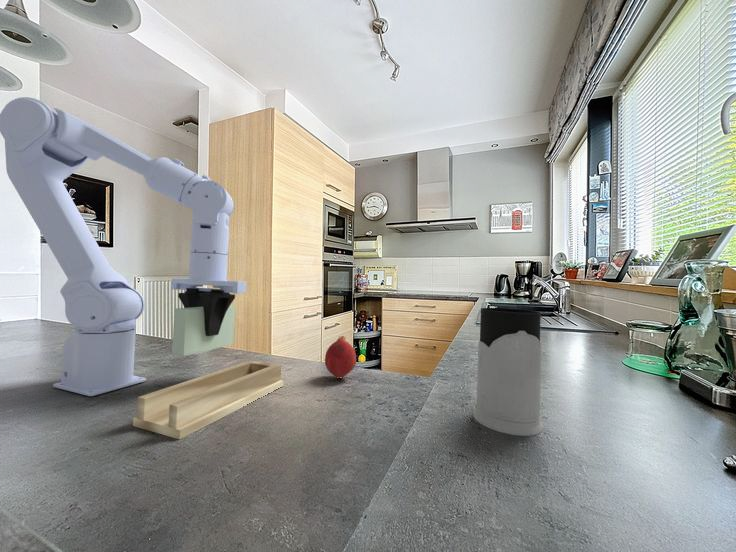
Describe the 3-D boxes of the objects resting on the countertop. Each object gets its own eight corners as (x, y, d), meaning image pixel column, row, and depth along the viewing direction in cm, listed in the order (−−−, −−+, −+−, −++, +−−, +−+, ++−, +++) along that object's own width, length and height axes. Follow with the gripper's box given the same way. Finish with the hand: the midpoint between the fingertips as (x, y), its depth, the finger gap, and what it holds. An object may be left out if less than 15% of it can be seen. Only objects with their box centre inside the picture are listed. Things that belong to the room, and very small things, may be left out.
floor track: (133, 425, 36) (134, 396, 36) (247, 380, 54) (247, 360, 54) (179, 439, 34) (181, 407, 34) (283, 386, 52) (284, 365, 52)
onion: (350, 385, 53) (352, 339, 54) (319, 382, 55) (321, 337, 55) (358, 375, 59) (360, 334, 59) (330, 372, 60) (331, 332, 60)
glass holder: (484, 433, 38) (488, 311, 38) (456, 392, 52) (459, 304, 52) (557, 437, 38) (560, 314, 38) (509, 395, 52) (511, 306, 52)
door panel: (171, 353, 48) (174, 308, 48) (222, 342, 57) (224, 305, 57) (183, 355, 47) (186, 309, 47) (232, 344, 56) (235, 306, 56)
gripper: (260, 256, 54) (256, 335, 53) (197, 256, 58) (194, 327, 58) (229, 252, 47) (224, 341, 47) (161, 252, 52) (157, 332, 52)
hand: (205, 334), depth 52 cm, fingers closed on door panel, 2 cm apart
